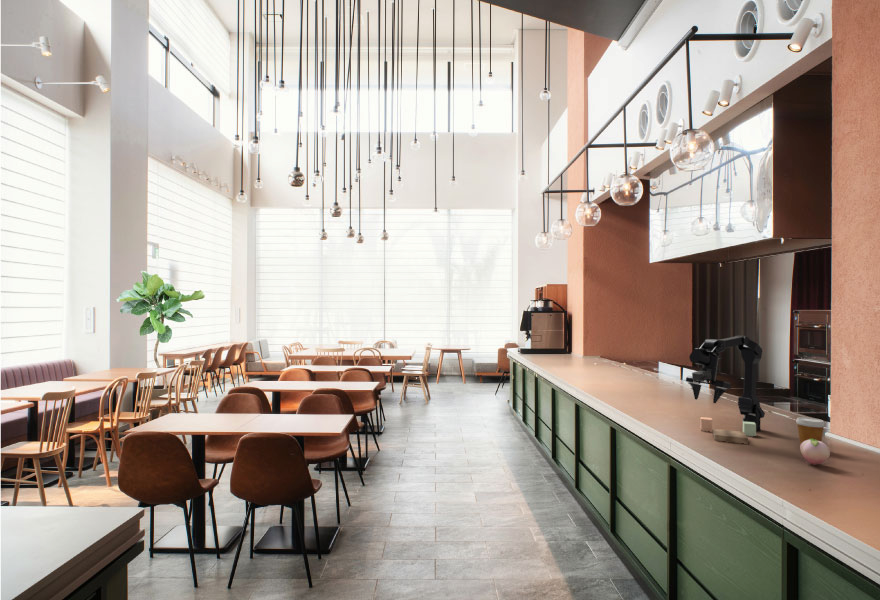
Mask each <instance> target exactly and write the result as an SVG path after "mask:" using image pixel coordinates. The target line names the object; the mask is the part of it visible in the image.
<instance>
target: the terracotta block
mask: <svg viewBox="0 0 880 600" xmlns="http://www.w3.org/2000/svg"><path fill="white" fill-rule="evenodd" d="M700 428H701V429H700ZM700 428H699V429H700V431H701V430H702V431H701V432H708V431H710V432H711V433H713V418H712V417H704V416H703V417H701V416H700ZM710 432H709V433H710Z"/></svg>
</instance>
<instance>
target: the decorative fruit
mask: <svg viewBox="0 0 880 600" xmlns="http://www.w3.org/2000/svg"><path fill="white" fill-rule="evenodd" d="M799 449H800V450H799V451H800V452H801V455H802V456H803V458H804V459H805V460H806V461H807V462H809V464H811V465H813V466H815V465H818V464H823V463H824V462H826V461H827V460H829V457H830V455H831V453H830V452H831V451H830V448H829V447H828V446H827V444H825V443H824V442H823V441H821V442H820V441H817V440H816V439H815V437H814V439H809V440H806V441H804V442H803V443H802V444H801V446H799Z"/></svg>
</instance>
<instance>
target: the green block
mask: <svg viewBox="0 0 880 600" xmlns="http://www.w3.org/2000/svg"><path fill="white" fill-rule="evenodd" d="M742 432H744V433H745V434H746V435H747V437H753V436H756V437H757V431H756V424H755V423H754V422H744V421H743V420H742Z"/></svg>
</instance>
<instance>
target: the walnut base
mask: <svg viewBox="0 0 880 600" xmlns="http://www.w3.org/2000/svg"><path fill="white" fill-rule="evenodd" d="M713 436H714V437H713ZM712 437H713V438H714V441H715V442H722V441H726V442H725V443H732V442H735V443H734V444H741V443H744V444H743V445H748V444H749V436H746V434H745V433H744V432H743V431H738V430H730V429H729V430H727V429H716V428H712Z"/></svg>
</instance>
